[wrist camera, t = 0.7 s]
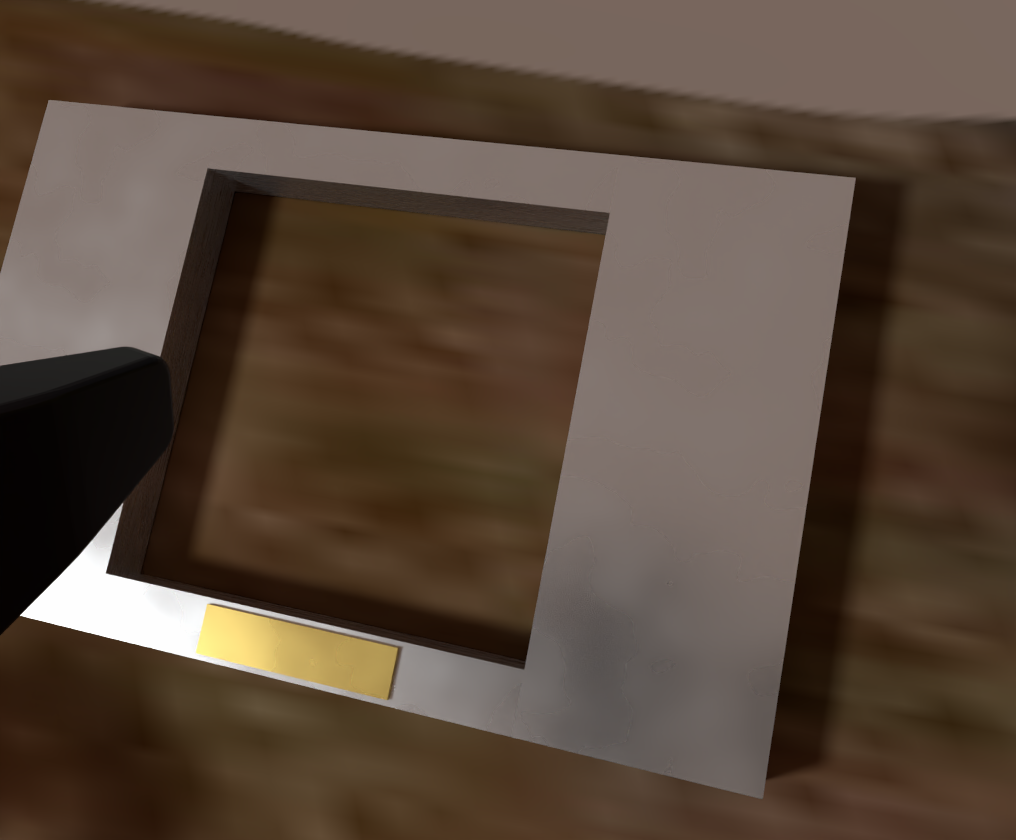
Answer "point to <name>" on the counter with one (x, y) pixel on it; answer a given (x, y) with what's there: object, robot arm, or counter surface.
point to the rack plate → (591, 440)
